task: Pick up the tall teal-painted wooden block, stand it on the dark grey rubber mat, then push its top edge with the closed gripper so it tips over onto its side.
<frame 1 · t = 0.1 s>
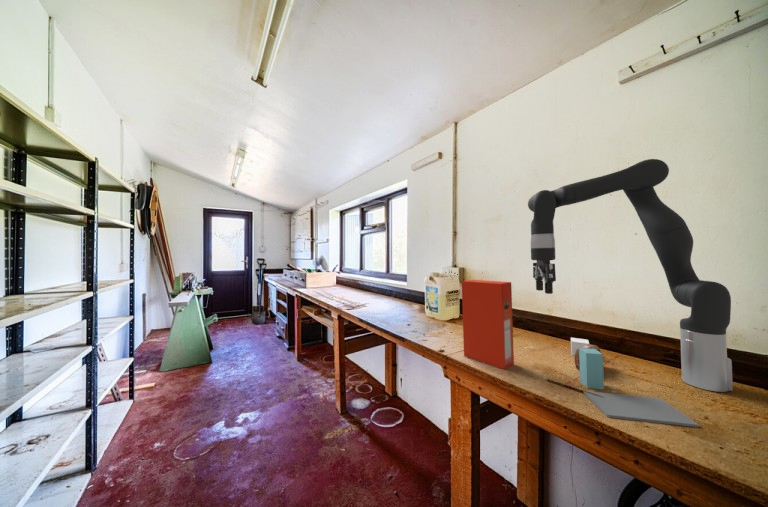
hand: (544, 291, 92), 29 cm above the workbench, tool pointing down, fingers open, 8 cm apart
mat: (634, 408, 70), on the workbench
file binder: (487, 360, 104), on the workbench
tin: (588, 369, 94), on the workbench
block: (591, 385, 83), on the workbench
dark brown rod: (574, 391, 80), on the workbench
white cube: (580, 355, 108), on the workbench
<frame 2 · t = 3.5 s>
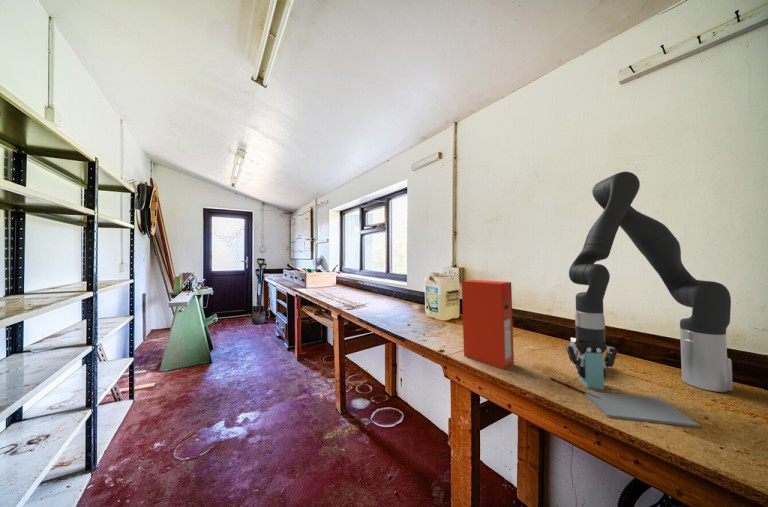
hand: (591, 377, 83), 2 cm above the workbench, tool pointing down, fingers closed on block, 4 cm apart
block: (591, 385, 83), on the workbench, touching gripper
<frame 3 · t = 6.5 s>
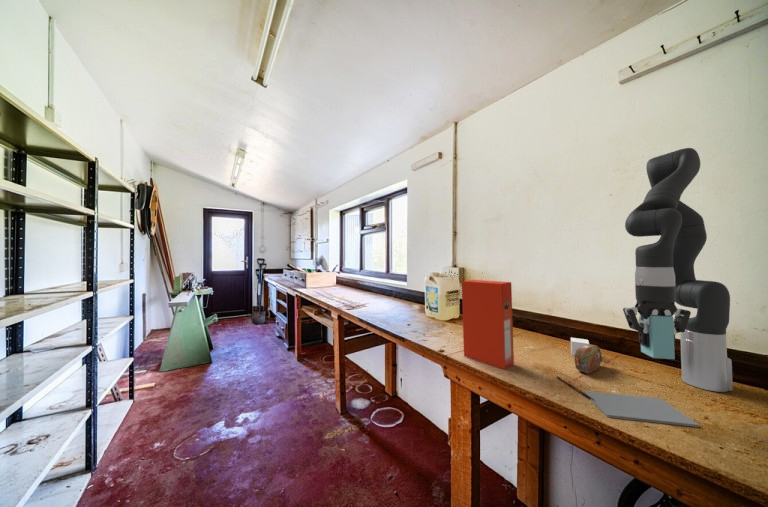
hand: (656, 346, 69), 17 cm above the workbench, tool pointing down, fingers closed on block, 4 cm apart
block: (657, 355, 69), point 15 cm above the workbench, touching gripper
when the fingers open (4 cm above the workbench, at t = 9.7 s): block stays where it is, resting on mat.
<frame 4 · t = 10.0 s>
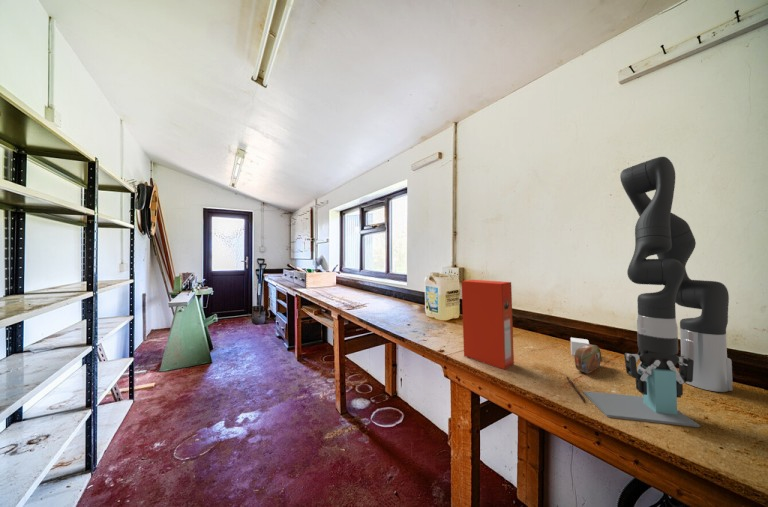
hand: (658, 394, 69), 4 cm above the workbench, tool pointing down, fingers open, 6 cm apart
block: (659, 408, 69), point 1 cm above the workbench, touching mat
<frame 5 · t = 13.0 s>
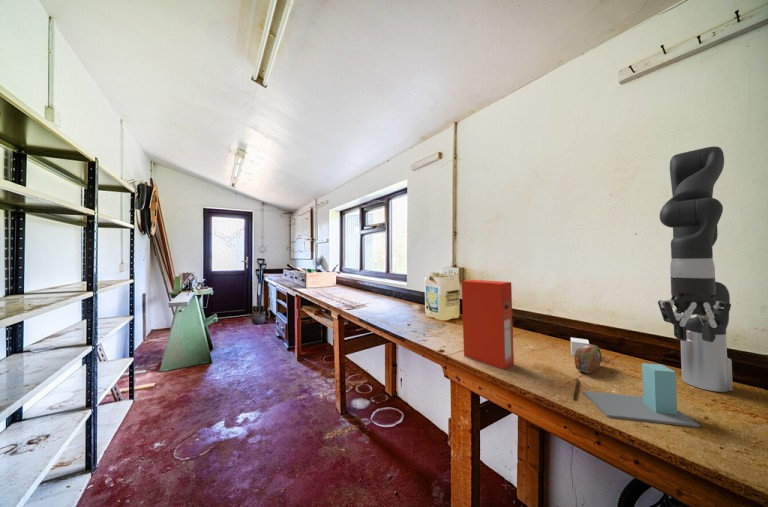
hand: (694, 340, 67), 19 cm above the workbench, tool pointing down, fingers open, 5 cm apart
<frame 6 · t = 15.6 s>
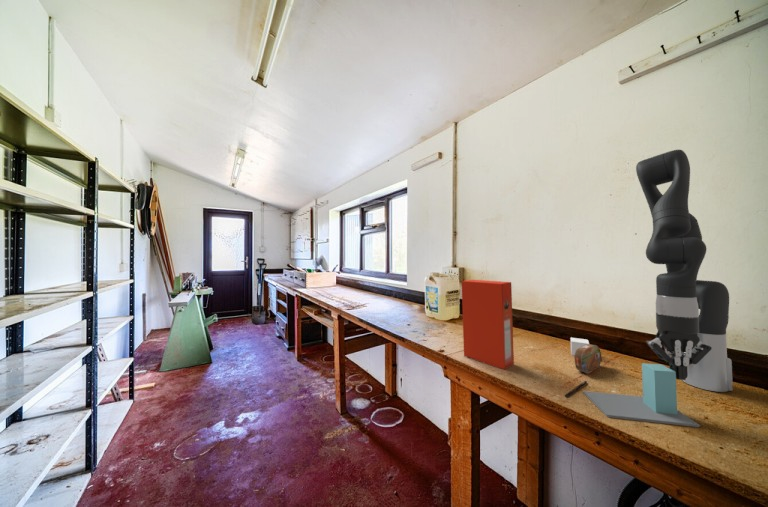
hand: (678, 378, 68), 9 cm above the workbench, tool pointing down, fingers closed
block: (659, 408, 69), point 1 cm above the workbench, touching gripper, mat
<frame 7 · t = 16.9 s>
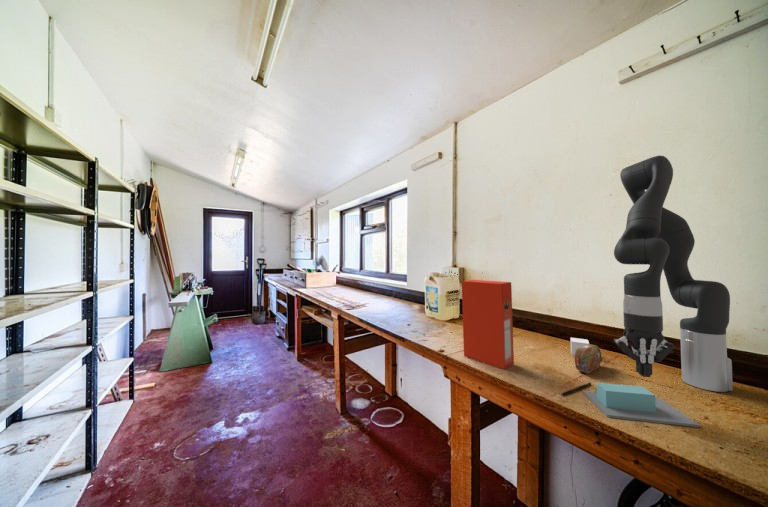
hand: (644, 375, 69), 9 cm above the workbench, tool pointing down, fingers closed
block: (648, 399, 69), point 3 cm above the workbench, tilted 90°, touching mat
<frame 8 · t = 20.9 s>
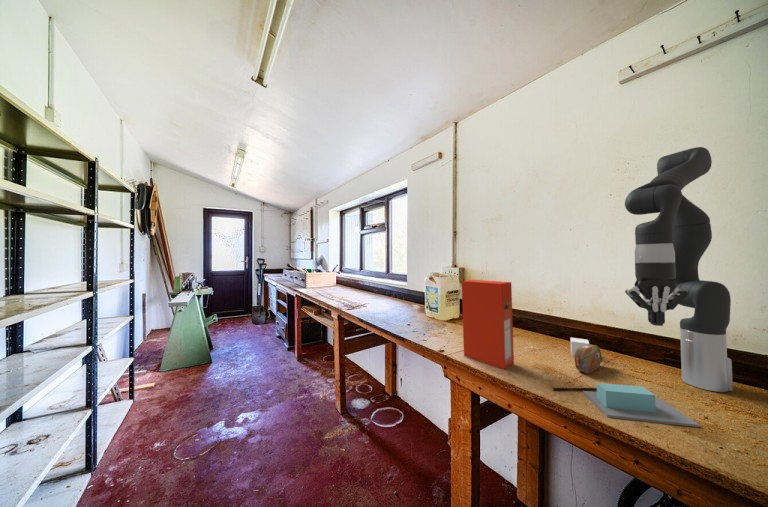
hand: (656, 324, 69), 23 cm above the workbench, tool pointing down, fingers closed
at the end: block tilted 90°; block inside the target area (3.8 cm from its centre), point 2.8 cm above the workbench; the gripper is holding nothing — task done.
